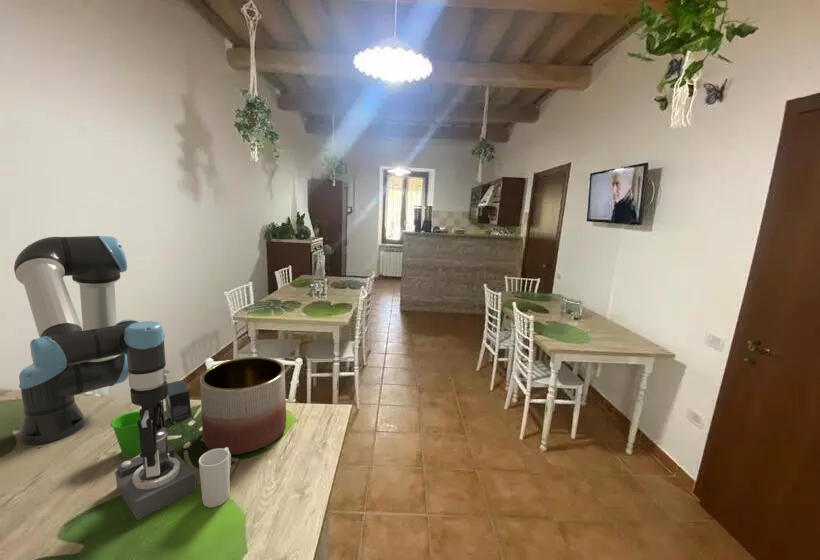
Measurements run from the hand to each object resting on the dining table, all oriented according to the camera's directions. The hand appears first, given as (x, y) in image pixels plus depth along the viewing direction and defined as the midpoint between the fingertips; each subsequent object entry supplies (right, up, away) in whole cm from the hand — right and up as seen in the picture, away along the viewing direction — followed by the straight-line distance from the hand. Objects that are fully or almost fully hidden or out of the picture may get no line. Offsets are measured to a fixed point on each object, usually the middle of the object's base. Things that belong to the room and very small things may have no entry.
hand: (156, 467), depth 94 cm
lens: (0, 0, 0) cm, 0 cm away
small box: (-18, 0, +37) cm, 41 cm away
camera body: (-1, -7, +2) cm, 7 cm away
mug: (+16, -8, +2) cm, 18 cm away
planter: (+11, -3, +28) cm, 30 cm away
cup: (-18, -4, +16) cm, 25 cm away
